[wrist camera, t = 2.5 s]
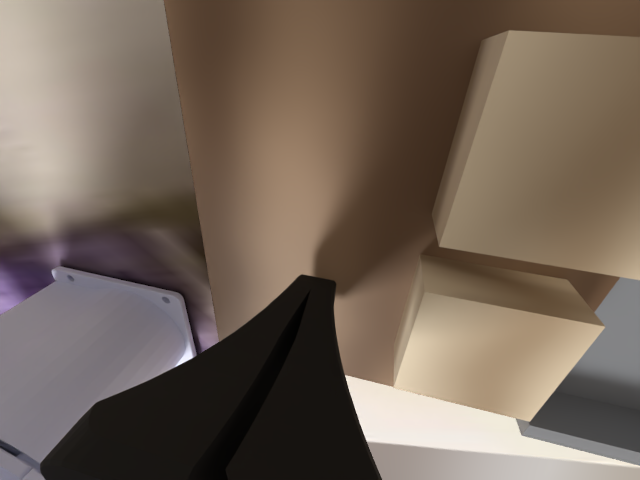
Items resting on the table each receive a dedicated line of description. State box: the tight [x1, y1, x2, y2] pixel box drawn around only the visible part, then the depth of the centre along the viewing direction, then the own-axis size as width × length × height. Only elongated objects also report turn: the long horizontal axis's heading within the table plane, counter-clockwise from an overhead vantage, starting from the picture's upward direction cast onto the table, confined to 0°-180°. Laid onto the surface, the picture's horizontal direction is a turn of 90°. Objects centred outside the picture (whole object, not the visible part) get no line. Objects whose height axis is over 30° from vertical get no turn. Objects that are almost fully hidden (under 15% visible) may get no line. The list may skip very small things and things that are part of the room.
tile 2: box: [432, 30, 640, 280], centre depth 7 cm, size 4×4×2 cm
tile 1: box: [393, 254, 605, 422], centre depth 10 cm, size 4×4×2 cm
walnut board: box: [164, 0, 640, 387], centre depth 11 cm, size 14×16×3 cm
